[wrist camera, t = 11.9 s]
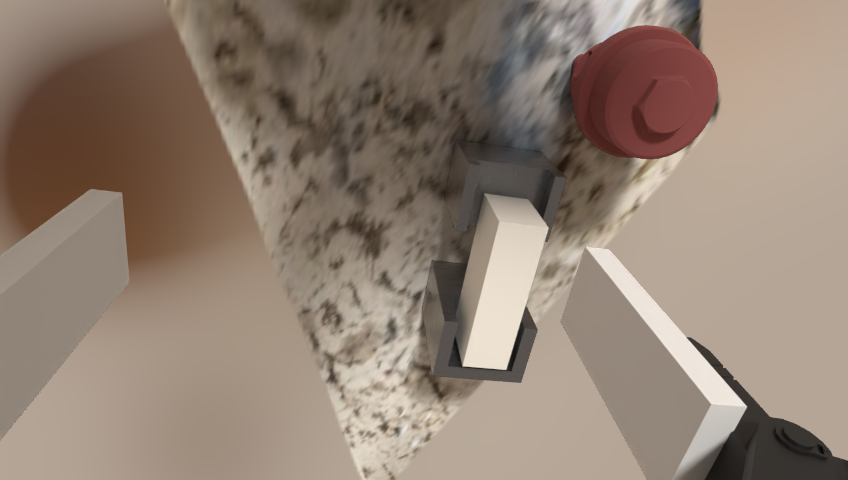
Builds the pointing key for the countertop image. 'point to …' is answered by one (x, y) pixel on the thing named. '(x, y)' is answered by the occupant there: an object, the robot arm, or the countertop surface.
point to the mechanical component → (643, 92)
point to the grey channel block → (500, 181)
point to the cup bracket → (443, 326)
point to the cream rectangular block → (498, 280)
